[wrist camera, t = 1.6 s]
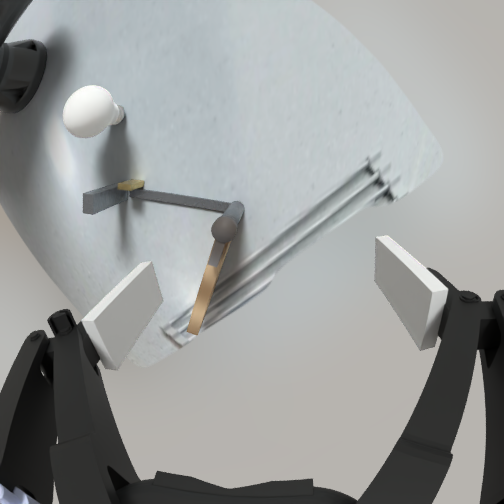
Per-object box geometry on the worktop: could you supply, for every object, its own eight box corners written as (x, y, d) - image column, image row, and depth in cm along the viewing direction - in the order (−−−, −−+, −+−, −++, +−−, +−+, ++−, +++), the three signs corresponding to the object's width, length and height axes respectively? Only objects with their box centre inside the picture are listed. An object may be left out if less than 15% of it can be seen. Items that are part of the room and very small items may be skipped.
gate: (210, 308, 41) (196, 349, 32) (195, 303, 41) (177, 342, 32) (247, 204, 35) (239, 223, 26) (230, 197, 35) (215, 215, 26)
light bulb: (132, 86, 30) (88, 70, 20) (144, 125, 33) (100, 120, 22) (96, 107, 32) (48, 101, 21) (107, 145, 34) (58, 149, 23)
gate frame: (118, 198, 36) (82, 212, 28) (119, 178, 35) (83, 187, 27) (242, 218, 36) (233, 239, 28) (246, 196, 35) (238, 210, 27)
